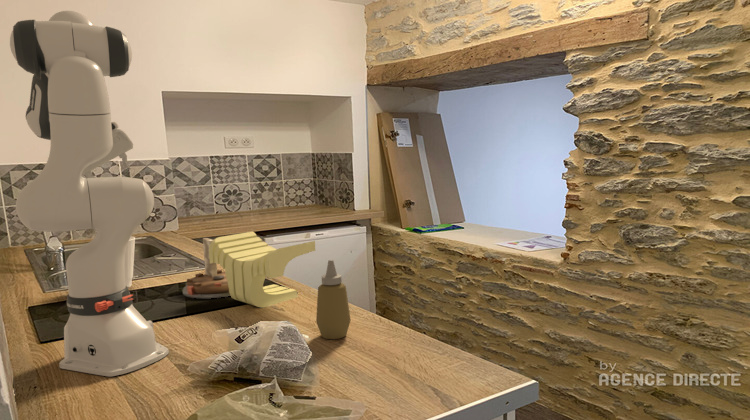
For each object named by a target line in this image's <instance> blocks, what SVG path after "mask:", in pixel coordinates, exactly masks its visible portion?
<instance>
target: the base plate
mask: <svg viewBox="0 0 750 420" xmlns="http://www.w3.org/2000/svg"><path fill="white" fill-rule="evenodd" d="M182 295H183V296H184V297H186V298H189V299H194V298H196V300H212V299H211V298H217V299H222V298H221V297H225V298H229V297H228V296H230V293H229V292H224V293H215V294H198V293H194V286H187V285H185V286H184V287H183V288H182Z"/></svg>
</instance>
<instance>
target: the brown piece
mask: <svg viewBox="0 0 750 420" xmlns="http://www.w3.org/2000/svg"><path fill="white" fill-rule="evenodd" d="M213 240H214V239H211V238H210V237H209V238H208V237H204V238H202V244H203V246H202V247H203V257H204V258H203V260H204V270H205V272H204V273H201V272H199V273H195V276H194V277H192V278H191V277H190V278H187V279H186V286H194V293H198V294H215V293H224V292H229V286H228V281H227V277H226V273H225V271H223V269H218V266H217V265H218V264H217V263H211V264H210V259H209V247H210V244H211V242H212V241H213Z"/></svg>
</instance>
